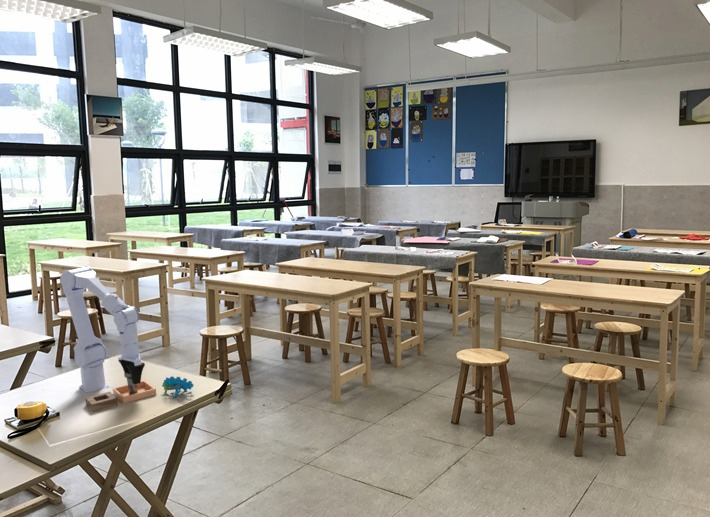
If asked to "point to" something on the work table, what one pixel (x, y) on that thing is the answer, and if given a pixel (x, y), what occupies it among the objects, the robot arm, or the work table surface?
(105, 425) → the work table surface
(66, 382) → the work table surface
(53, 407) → the work table surface
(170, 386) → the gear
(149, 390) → the tray
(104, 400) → the pin block
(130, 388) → the pin
